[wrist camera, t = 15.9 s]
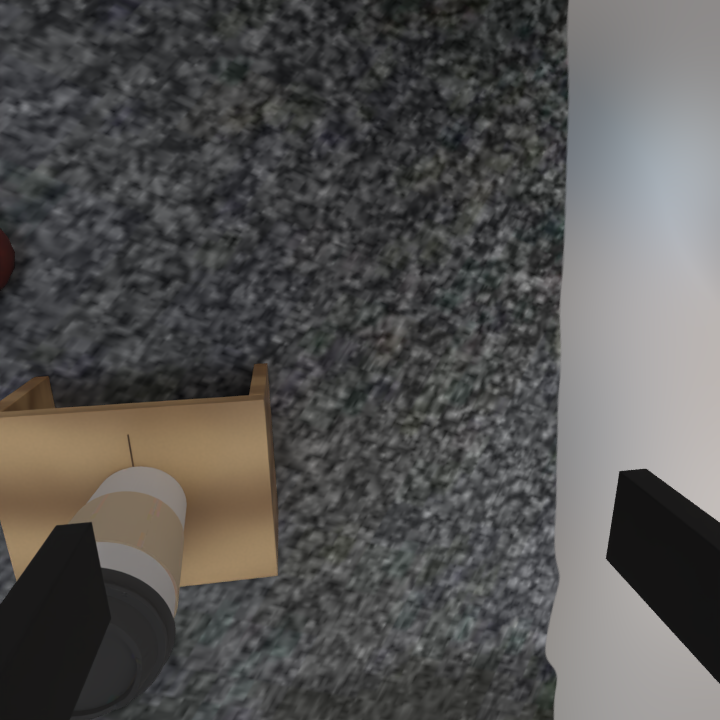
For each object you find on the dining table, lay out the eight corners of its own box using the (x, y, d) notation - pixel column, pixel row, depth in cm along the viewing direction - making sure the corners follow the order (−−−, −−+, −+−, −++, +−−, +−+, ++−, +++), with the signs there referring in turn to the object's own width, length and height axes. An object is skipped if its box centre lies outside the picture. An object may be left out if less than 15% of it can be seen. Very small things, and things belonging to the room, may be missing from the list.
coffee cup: (58, 534, 38) (-63, 726, 24) (104, 435, 37) (5, 579, 23) (173, 570, 41) (124, 762, 27) (221, 478, 39) (196, 632, 25)
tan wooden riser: (34, 376, 44) (-28, 420, 35) (267, 363, 47) (263, 400, 38) (68, 533, 49) (21, 606, 40) (278, 512, 51) (277, 576, 43)
